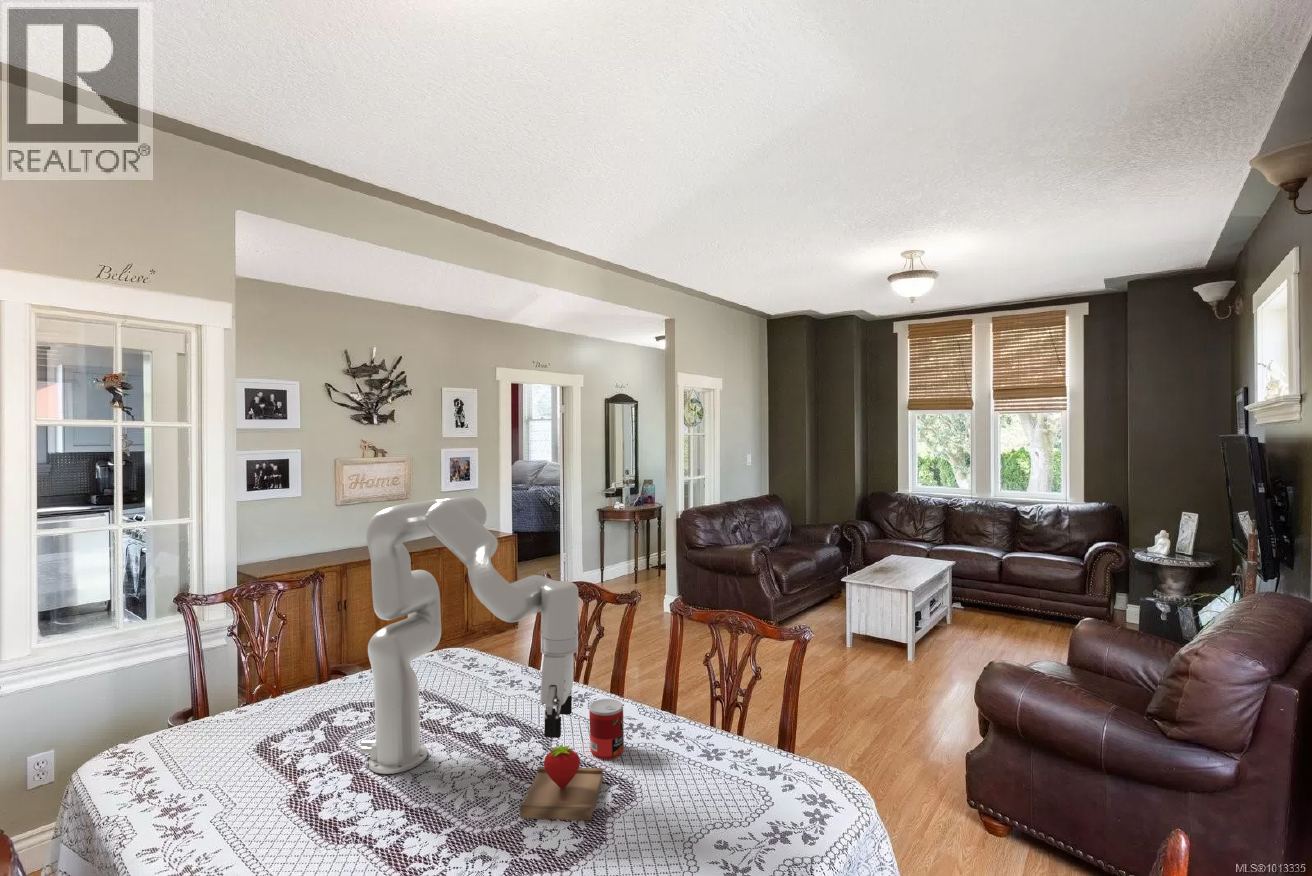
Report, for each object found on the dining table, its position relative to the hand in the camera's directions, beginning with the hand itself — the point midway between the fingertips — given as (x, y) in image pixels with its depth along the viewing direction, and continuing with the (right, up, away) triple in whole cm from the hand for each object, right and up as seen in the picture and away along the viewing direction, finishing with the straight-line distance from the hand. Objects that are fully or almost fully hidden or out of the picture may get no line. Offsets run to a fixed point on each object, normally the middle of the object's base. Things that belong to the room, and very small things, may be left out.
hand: (558, 724), depth 131 cm
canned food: (+9, -15, +18) cm, 25 cm away
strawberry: (+1, -13, 0) cm, 13 cm away
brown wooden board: (+1, -15, 0) cm, 15 cm away
